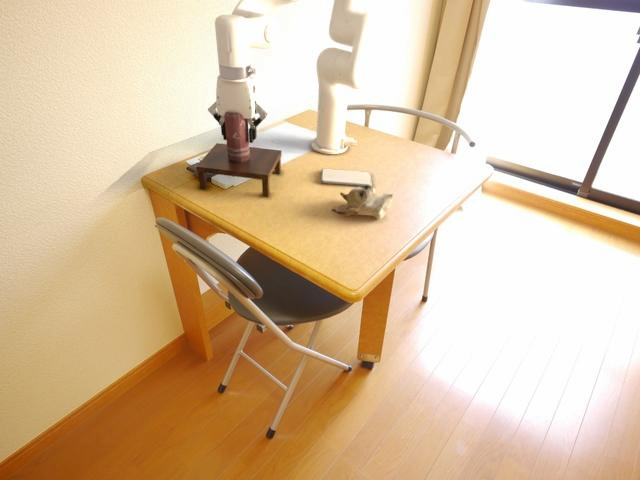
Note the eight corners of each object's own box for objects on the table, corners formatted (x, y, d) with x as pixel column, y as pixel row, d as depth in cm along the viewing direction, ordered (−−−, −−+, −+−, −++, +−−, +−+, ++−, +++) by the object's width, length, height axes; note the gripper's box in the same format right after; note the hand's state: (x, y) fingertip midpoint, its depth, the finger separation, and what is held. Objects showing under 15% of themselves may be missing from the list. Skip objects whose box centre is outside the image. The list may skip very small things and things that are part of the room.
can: (252, 154, 117) (249, 106, 109) (246, 164, 112) (243, 114, 104) (231, 152, 118) (227, 104, 109) (225, 162, 113) (220, 112, 104)
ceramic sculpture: (391, 199, 97) (330, 191, 101) (387, 229, 102) (330, 220, 106) (397, 180, 106) (341, 172, 109) (393, 208, 111) (340, 200, 114)
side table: (281, 171, 125) (281, 150, 121) (268, 197, 112) (268, 175, 108) (218, 164, 127) (216, 143, 122) (199, 189, 114) (195, 166, 110)
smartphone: (372, 184, 119) (321, 180, 119) (371, 187, 120) (321, 183, 120) (370, 171, 126) (322, 167, 126) (369, 174, 126) (321, 170, 126)
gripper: (272, 71, 103) (273, 137, 114) (206, 64, 105) (214, 131, 116) (264, 79, 97) (266, 148, 108) (195, 72, 99) (204, 141, 110)
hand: (239, 139), depth 112 cm, fingers open, 6 cm apart
